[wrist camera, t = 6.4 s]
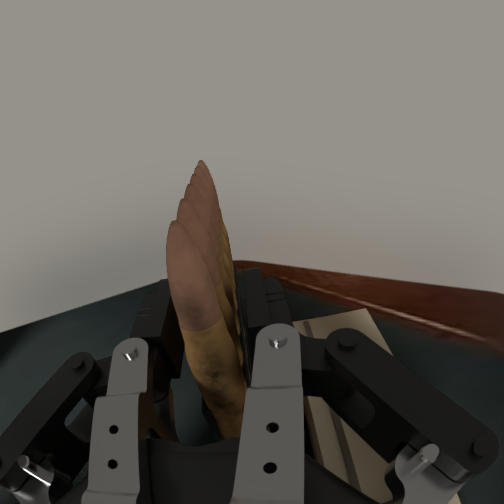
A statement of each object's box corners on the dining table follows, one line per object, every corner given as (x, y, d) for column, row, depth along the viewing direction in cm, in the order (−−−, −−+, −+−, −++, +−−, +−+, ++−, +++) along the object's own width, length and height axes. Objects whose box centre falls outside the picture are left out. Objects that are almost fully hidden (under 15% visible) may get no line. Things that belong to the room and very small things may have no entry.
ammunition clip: (220, 325, 20) (185, 160, 15) (245, 321, 21) (218, 154, 15) (227, 460, 11) (126, 245, 5) (264, 456, 11) (213, 230, 5)
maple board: (341, 592, 3) (353, 600, 2) (289, 348, 18) (288, 321, 16) (447, 549, 4) (474, 543, 2) (361, 334, 18) (365, 307, 16)
